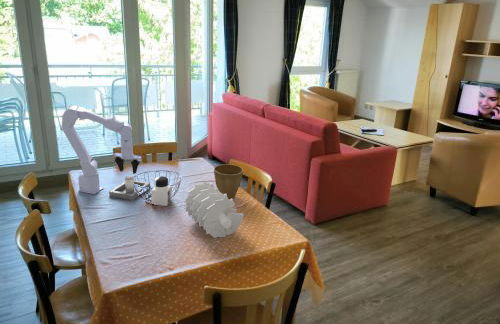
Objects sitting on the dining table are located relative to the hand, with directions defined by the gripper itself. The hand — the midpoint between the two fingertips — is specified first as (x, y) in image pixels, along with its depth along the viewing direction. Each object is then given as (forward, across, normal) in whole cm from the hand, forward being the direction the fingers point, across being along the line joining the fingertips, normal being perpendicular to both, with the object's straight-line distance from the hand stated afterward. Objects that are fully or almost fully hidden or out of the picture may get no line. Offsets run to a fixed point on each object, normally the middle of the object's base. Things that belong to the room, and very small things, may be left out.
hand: (128, 172), depth 196 cm
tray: (+9, +3, -4) cm, 11 cm away
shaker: (+9, +3, -4) cm, 10 cm away
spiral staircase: (+10, +55, -21) cm, 60 cm away
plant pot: (+10, +52, +10) cm, 53 cm away
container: (+10, +23, -8) cm, 26 cm away
